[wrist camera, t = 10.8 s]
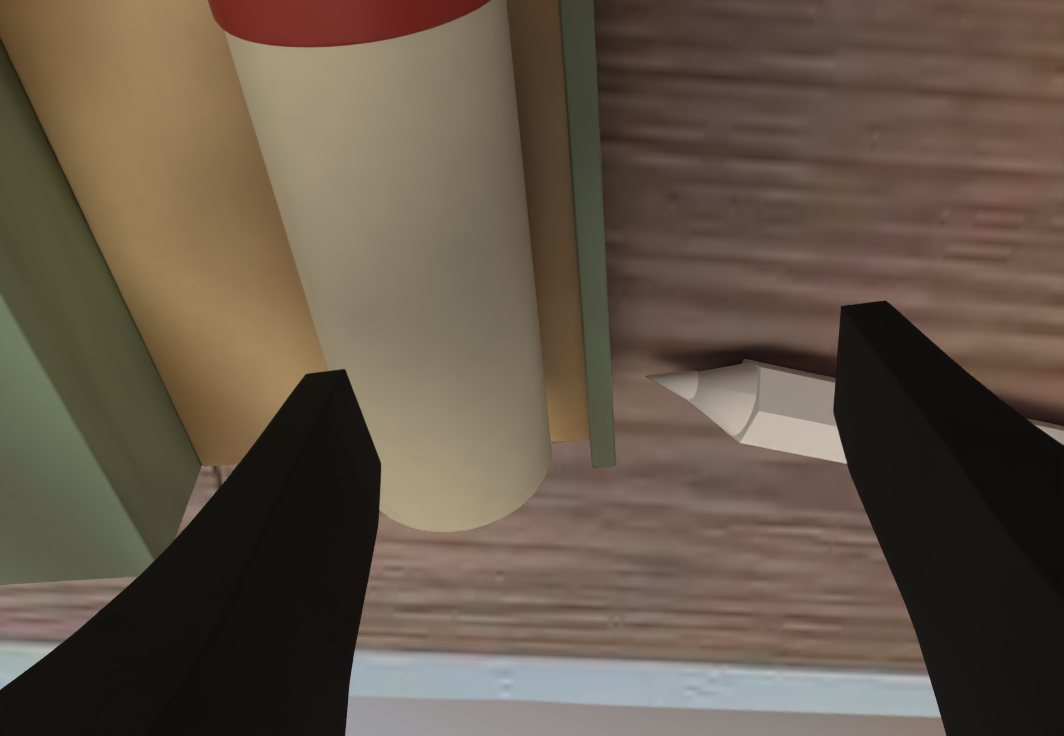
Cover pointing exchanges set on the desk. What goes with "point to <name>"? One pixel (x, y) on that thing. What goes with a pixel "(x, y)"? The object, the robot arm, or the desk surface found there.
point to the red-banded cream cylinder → (409, 234)
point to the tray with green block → (212, 268)
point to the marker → (774, 406)
